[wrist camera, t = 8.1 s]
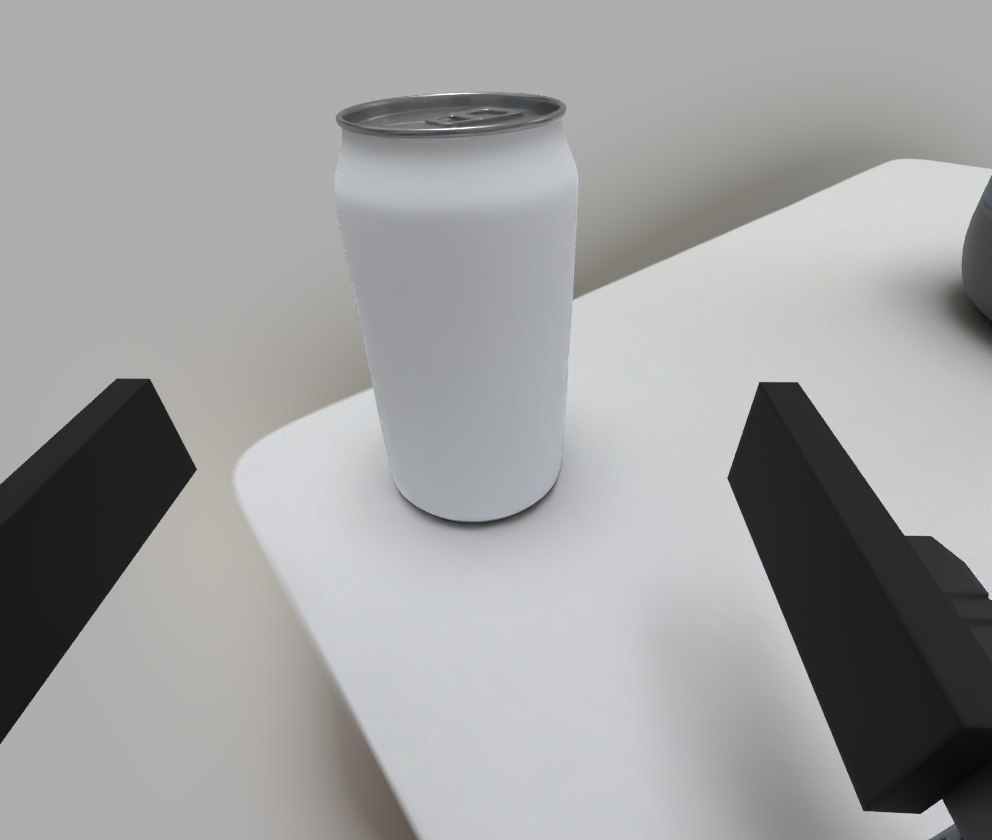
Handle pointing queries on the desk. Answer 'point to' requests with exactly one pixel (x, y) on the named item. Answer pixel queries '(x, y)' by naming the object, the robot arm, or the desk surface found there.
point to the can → (463, 290)
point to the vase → (979, 254)
